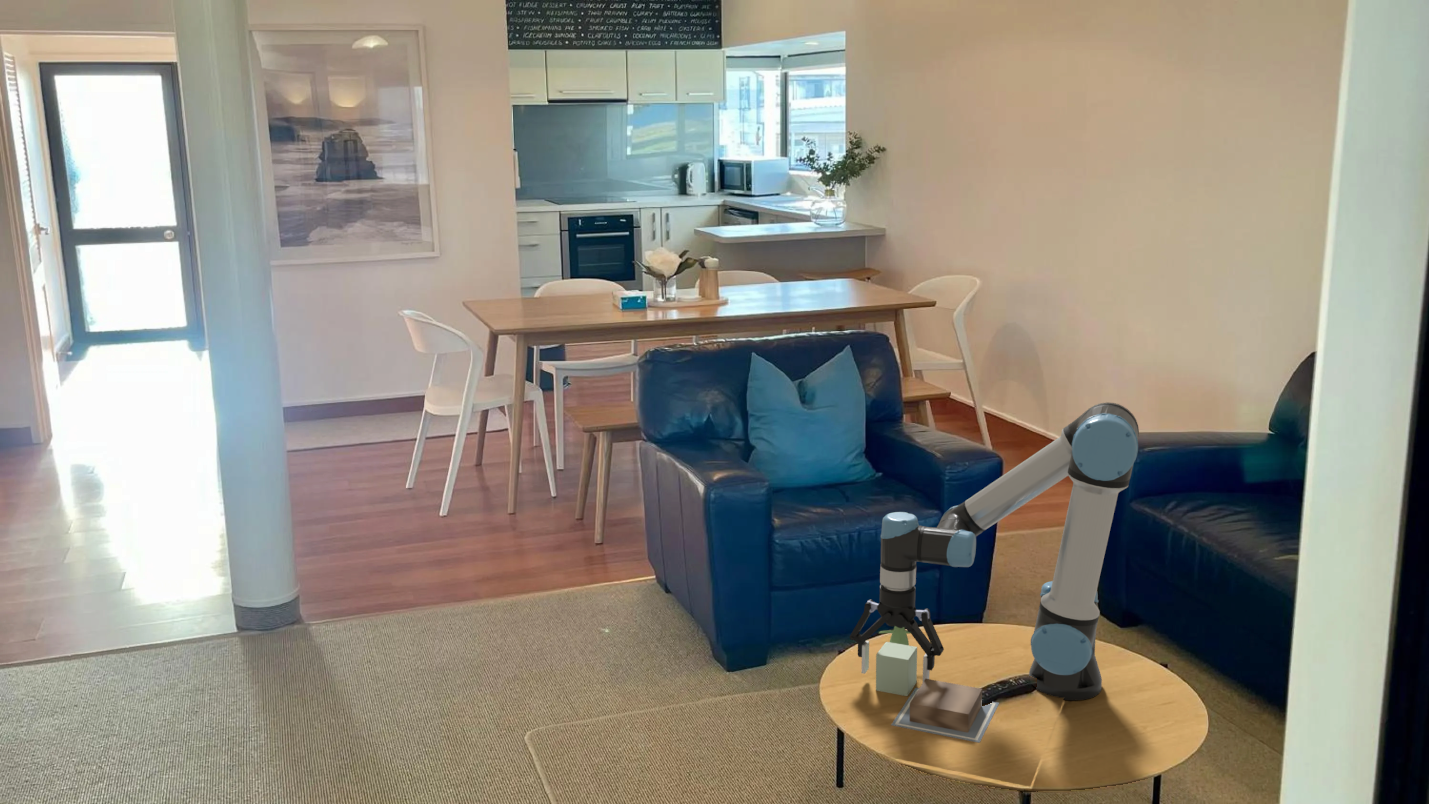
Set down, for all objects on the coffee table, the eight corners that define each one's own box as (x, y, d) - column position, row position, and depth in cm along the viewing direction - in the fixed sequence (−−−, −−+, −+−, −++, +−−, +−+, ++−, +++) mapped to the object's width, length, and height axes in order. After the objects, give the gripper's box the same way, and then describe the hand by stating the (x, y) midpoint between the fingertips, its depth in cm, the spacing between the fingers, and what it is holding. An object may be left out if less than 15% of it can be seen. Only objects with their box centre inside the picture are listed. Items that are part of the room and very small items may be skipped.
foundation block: (981, 706, 245) (982, 688, 245) (968, 732, 235) (968, 714, 234) (925, 695, 250) (925, 678, 250) (909, 721, 240) (909, 703, 239)
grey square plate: (999, 705, 247) (999, 702, 247) (979, 745, 231) (979, 742, 231) (915, 690, 254) (915, 687, 254) (890, 727, 239) (891, 724, 239)
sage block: (916, 685, 257) (917, 646, 255) (907, 698, 251) (908, 659, 249) (885, 679, 260) (886, 641, 258) (875, 692, 254) (876, 654, 252)
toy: (899, 654, 272) (898, 592, 269) (923, 665, 266) (923, 602, 263) (876, 662, 268) (875, 600, 265) (900, 674, 262) (900, 610, 259)
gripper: (960, 587, 248) (956, 680, 253) (847, 570, 259) (846, 659, 263) (951, 600, 241) (947, 695, 246) (836, 581, 252) (834, 673, 257)
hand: (895, 676), depth 255 cm, fingers open, 13 cm apart
